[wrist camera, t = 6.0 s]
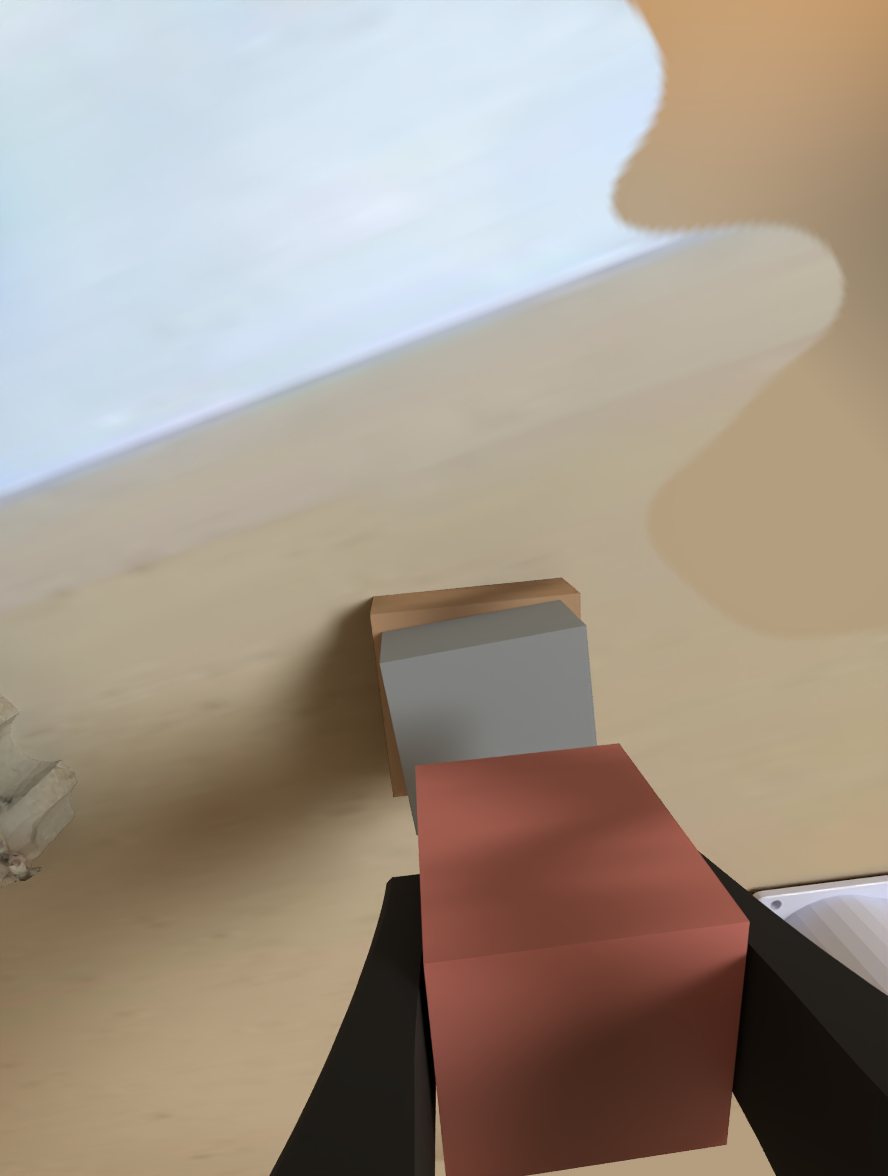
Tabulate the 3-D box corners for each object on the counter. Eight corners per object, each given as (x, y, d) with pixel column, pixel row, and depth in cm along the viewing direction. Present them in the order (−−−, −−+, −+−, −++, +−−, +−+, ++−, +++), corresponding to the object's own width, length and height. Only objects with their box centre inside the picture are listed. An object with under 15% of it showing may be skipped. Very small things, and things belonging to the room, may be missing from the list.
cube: (619, 743, 12) (750, 921, 7) (615, 907, 13) (725, 1144, 8) (415, 765, 11) (423, 964, 7) (431, 930, 12) (447, 1187, 8)
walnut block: (558, 574, 20) (580, 593, 17) (562, 737, 22) (582, 773, 19) (373, 593, 19) (369, 614, 17) (394, 757, 21) (393, 797, 19)
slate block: (560, 599, 17) (586, 625, 15) (576, 754, 19) (601, 799, 17) (382, 632, 17) (379, 663, 15) (414, 784, 19) (416, 835, 17)
